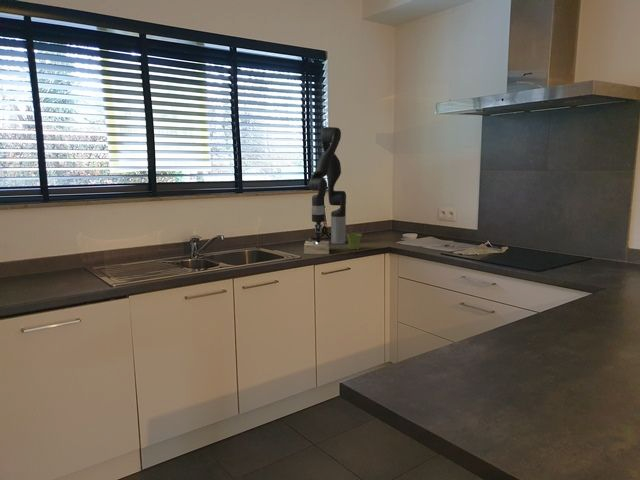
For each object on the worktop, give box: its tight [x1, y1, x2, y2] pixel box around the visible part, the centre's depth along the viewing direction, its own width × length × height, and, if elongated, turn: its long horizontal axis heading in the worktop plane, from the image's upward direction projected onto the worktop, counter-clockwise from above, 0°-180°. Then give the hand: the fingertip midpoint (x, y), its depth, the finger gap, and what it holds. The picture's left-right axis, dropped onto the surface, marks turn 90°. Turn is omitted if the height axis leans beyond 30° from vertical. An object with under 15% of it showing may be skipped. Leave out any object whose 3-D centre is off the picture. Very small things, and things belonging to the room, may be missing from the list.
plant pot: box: [346, 233, 363, 250], centre depth 278 cm, size 9×9×9 cm
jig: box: [303, 237, 330, 255], centre depth 271 cm, size 16×14×7 cm
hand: (318, 241), depth 270 cm, fingers open, 8 cm apart
